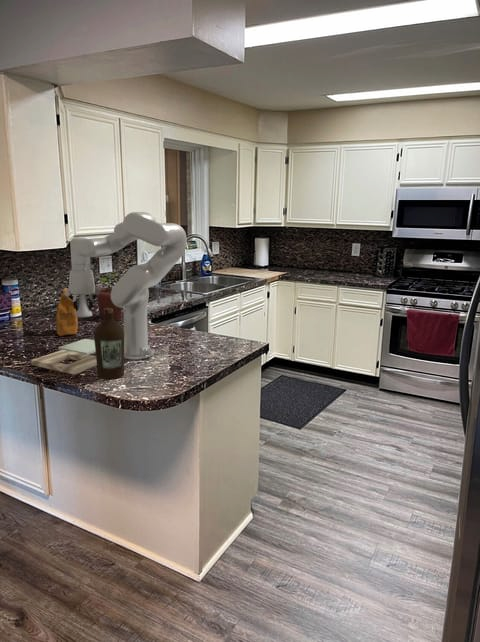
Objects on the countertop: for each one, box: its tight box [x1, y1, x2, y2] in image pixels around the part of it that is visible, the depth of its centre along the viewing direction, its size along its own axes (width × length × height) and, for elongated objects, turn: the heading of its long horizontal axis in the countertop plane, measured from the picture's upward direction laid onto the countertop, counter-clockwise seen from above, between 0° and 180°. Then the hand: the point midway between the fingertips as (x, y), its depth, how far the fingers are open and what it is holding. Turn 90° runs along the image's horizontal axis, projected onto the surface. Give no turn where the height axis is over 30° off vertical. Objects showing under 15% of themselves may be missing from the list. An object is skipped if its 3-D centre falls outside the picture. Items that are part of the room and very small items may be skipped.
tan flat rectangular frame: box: [31, 350, 97, 375], centre depth 181 cm, size 22×16×2 cm
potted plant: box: [94, 273, 124, 323], centre depth 252 cm, size 18×22×25 cm
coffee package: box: [55, 287, 79, 337], centre depth 223 cm, size 10×12×22 cm
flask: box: [75, 294, 93, 319], centre depth 198 cm, size 7×7×10 cm
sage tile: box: [57, 338, 96, 355], centre depth 203 cm, size 16×16×1 cm
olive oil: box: [93, 308, 125, 380], centre depth 167 cm, size 11×11×25 cm
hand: (83, 309), depth 198 cm, fingers closed on flask, 5 cm apart
